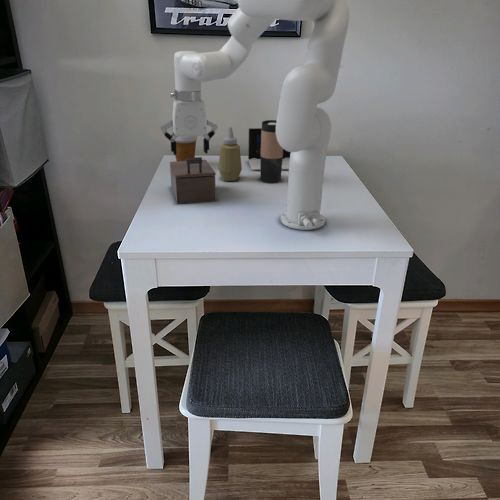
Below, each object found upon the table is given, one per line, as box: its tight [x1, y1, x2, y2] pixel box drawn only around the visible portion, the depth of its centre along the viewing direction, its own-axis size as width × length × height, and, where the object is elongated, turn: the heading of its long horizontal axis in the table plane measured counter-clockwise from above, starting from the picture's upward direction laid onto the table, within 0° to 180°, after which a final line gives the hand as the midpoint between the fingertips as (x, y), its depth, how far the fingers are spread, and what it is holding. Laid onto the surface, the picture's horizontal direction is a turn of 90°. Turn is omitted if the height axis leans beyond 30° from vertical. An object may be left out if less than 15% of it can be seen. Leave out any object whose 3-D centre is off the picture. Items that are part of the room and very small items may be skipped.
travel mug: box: [260, 119, 283, 184], centre depth 162 cm, size 8×8×20 cm
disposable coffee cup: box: [174, 136, 198, 162], centre depth 177 cm, size 10×10×12 cm
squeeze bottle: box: [218, 126, 243, 182], centre depth 163 cm, size 8×8×18 cm
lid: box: [169, 156, 216, 178], centre depth 147 cm, size 16×12×5 cm
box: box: [169, 164, 217, 205], centre depth 151 cm, size 15×12×8 cm
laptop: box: [247, 127, 291, 171], centre depth 179 cm, size 18×12×13 cm
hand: (190, 153), depth 148 cm, fingers open, 9 cm apart
